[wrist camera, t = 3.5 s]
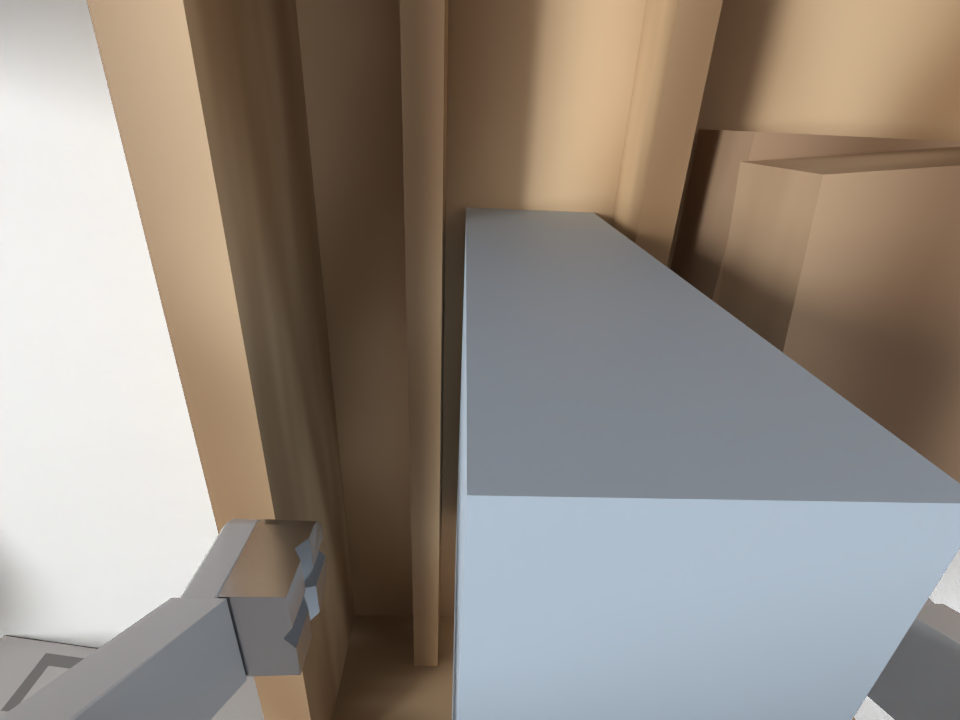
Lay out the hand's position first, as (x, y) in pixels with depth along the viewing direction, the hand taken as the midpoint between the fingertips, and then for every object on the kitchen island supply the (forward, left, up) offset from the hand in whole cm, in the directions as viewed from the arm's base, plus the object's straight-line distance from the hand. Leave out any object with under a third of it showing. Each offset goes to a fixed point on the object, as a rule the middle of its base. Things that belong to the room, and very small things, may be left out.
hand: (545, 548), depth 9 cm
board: (0, 0, -6) cm, 6 cm away
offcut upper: (-7, -3, -4) cm, 8 cm away
